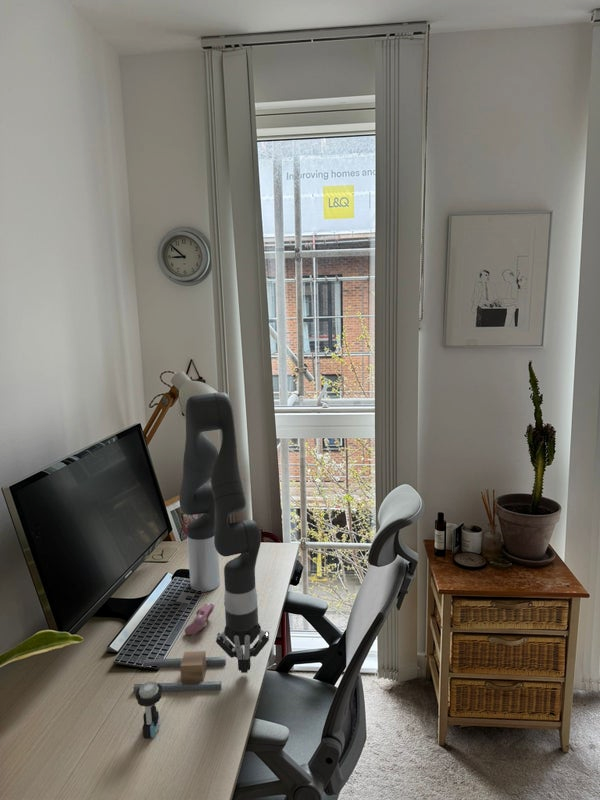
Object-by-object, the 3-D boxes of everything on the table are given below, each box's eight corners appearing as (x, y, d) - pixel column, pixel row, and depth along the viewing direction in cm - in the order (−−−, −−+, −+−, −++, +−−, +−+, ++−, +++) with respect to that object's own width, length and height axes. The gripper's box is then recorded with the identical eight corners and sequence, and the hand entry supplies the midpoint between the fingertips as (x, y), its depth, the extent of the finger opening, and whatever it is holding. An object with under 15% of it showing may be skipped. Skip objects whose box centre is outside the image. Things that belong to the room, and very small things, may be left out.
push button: (144, 715, 115) (140, 674, 113) (169, 714, 115) (165, 673, 114) (135, 740, 109) (131, 697, 107) (162, 739, 109) (158, 696, 107)
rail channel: (145, 664, 131) (144, 659, 131) (226, 662, 132) (225, 656, 131) (133, 692, 122) (133, 687, 122) (221, 689, 122) (220, 684, 122)
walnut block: (185, 670, 129) (184, 651, 128) (206, 669, 129) (205, 651, 128) (181, 684, 124) (180, 665, 123) (203, 684, 124) (201, 665, 124)
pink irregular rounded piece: (197, 642, 142) (206, 622, 140) (182, 634, 142) (191, 614, 141) (210, 621, 152) (219, 601, 150) (196, 613, 152) (205, 594, 150)
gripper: (270, 594, 127) (272, 659, 130) (214, 596, 127) (218, 661, 130) (269, 612, 120) (271, 680, 123) (210, 614, 120) (214, 682, 123)
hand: (244, 670), depth 127 cm, fingers closed
